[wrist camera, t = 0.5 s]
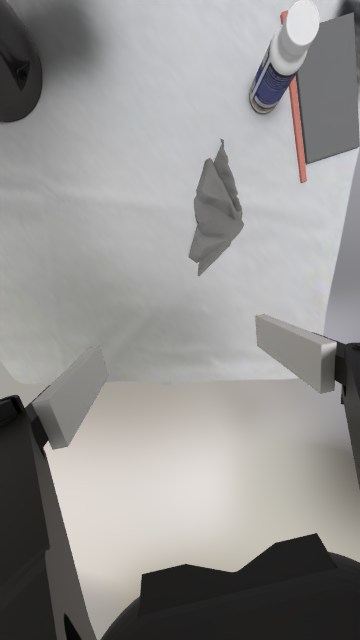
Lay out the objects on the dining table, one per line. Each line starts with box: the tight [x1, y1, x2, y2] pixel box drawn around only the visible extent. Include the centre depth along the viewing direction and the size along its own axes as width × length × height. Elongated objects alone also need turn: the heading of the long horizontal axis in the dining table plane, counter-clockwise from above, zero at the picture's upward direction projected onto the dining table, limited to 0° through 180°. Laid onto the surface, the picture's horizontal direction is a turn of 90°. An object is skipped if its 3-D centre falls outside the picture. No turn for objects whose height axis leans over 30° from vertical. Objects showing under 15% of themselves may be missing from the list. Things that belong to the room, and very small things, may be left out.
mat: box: [296, 12, 360, 164], centre depth 34 cm, size 20×11×1 cm, turn 17°
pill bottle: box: [250, 0, 320, 113], centre depth 29 cm, size 6×6×10 cm
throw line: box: [281, 10, 307, 183], centre depth 34 cm, size 26×1×1 cm, turn 17°
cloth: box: [189, 139, 244, 276], centre depth 37 cm, size 26×14×2 cm, turn 159°
